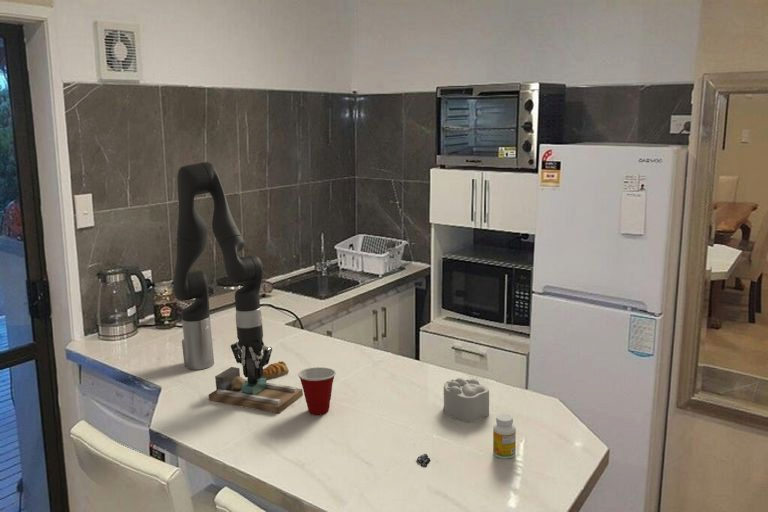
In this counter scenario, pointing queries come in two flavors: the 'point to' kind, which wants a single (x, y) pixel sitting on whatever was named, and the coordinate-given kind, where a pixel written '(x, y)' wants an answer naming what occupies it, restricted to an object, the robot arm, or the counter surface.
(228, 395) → the base
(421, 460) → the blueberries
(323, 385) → the plastic cup
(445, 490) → the counter surface
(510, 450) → the supplement bottle
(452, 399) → the lumpy-topped squat cylinder
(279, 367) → the pastry
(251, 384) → the jaw
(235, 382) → the walnut
